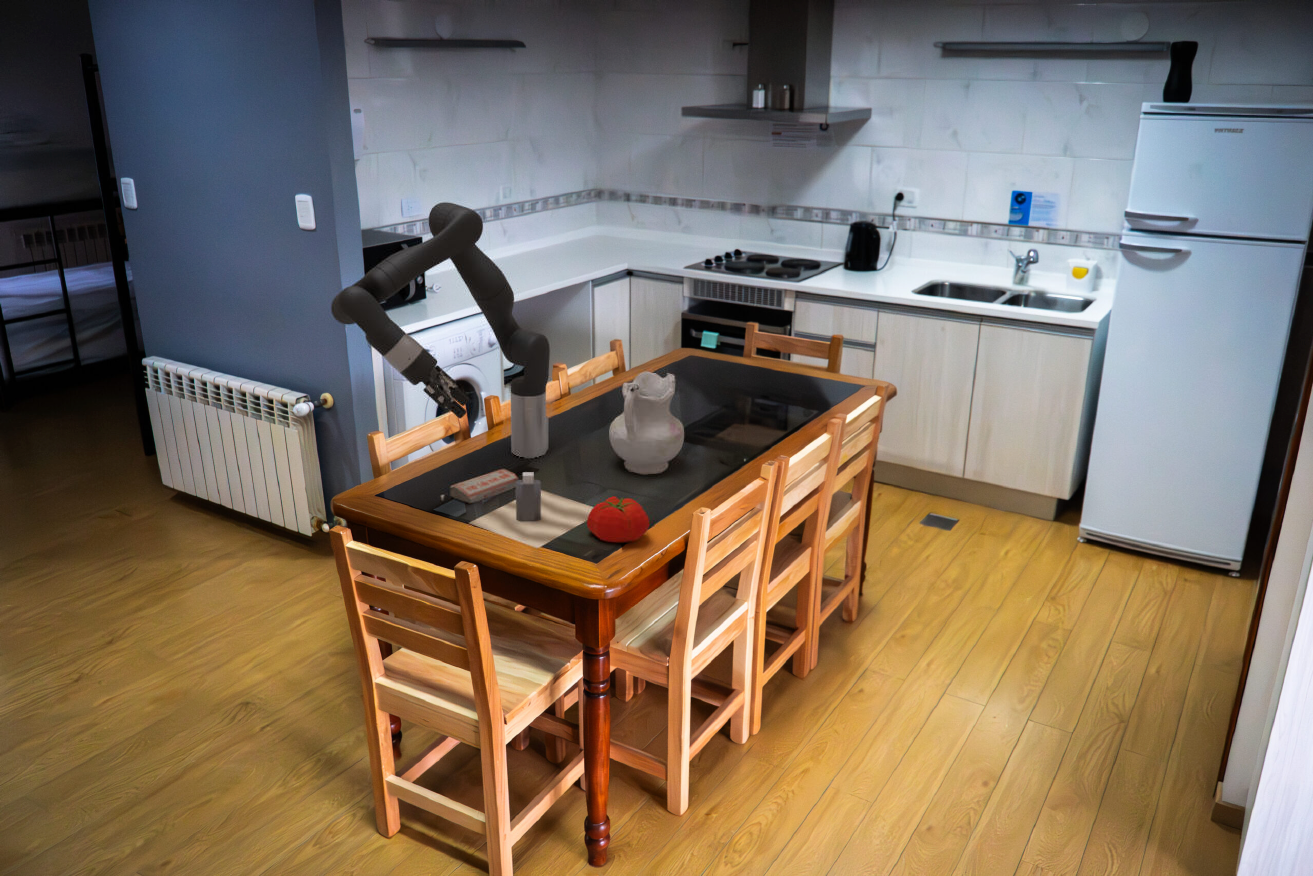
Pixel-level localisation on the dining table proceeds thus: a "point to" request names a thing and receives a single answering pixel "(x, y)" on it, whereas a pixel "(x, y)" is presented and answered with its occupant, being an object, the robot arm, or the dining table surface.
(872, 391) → the dining table surface
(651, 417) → the ceramic pitcher
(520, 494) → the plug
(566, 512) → the cloth
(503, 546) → the dining table surface
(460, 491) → the packaged product
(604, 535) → the tomato
